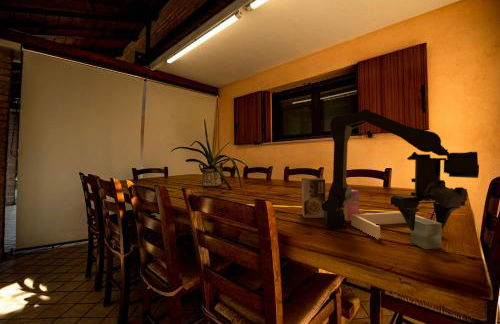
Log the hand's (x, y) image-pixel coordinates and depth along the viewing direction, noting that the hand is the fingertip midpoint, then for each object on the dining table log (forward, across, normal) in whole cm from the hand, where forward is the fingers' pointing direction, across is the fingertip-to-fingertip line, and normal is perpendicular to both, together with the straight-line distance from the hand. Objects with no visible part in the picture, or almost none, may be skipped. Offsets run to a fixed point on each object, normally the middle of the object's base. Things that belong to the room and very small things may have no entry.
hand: (426, 229), depth 65 cm
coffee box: (+5, -20, +34) cm, 40 cm away
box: (+5, -8, +30) cm, 32 cm away
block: (+5, 0, 0) cm, 5 cm away
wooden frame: (+5, 0, +14) cm, 15 cm away
